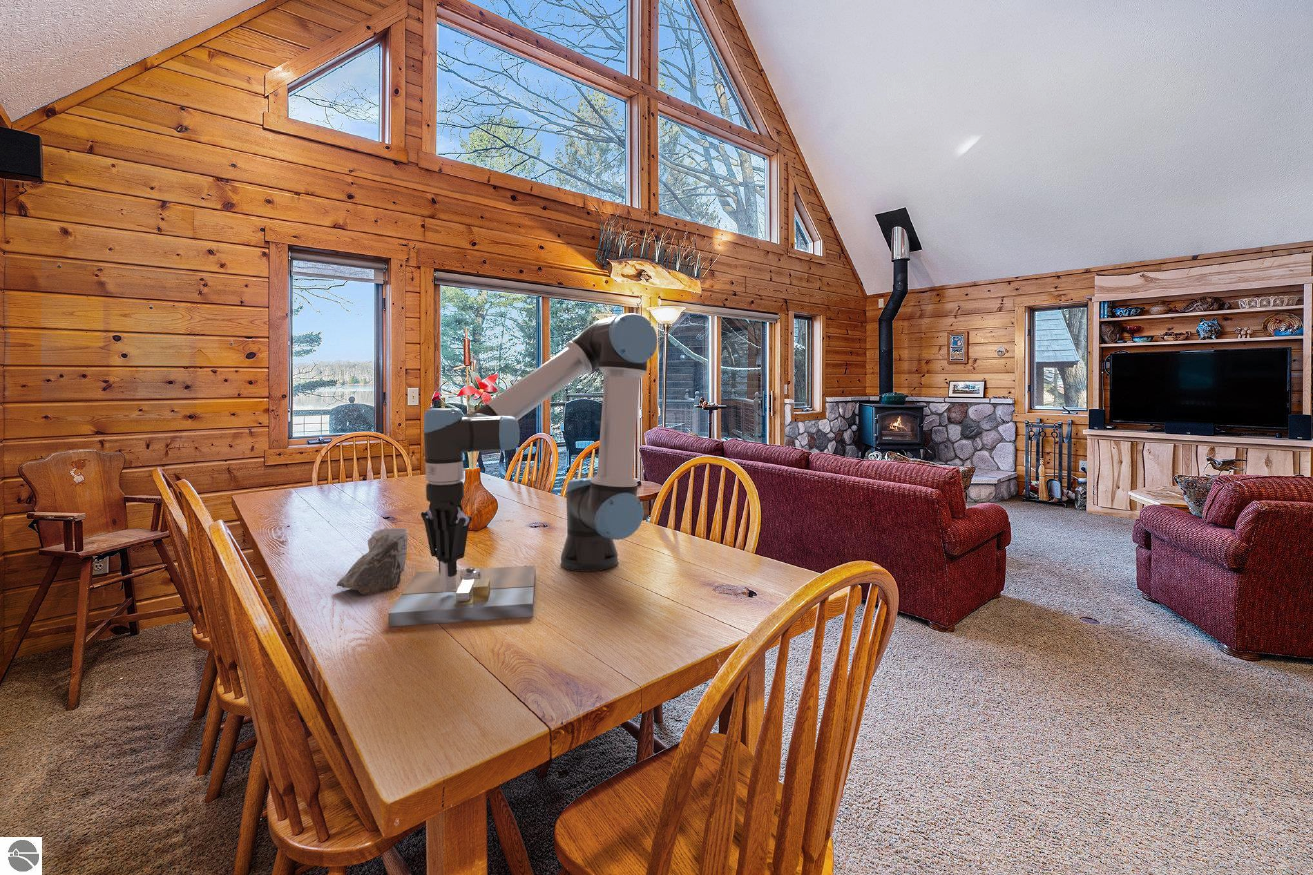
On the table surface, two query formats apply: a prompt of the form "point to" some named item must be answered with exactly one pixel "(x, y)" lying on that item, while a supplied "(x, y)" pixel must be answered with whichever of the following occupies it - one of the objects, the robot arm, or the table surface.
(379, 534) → the mug
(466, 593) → the latch bar
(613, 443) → the robot arm
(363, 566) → the rock
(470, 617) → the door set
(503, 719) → the table surface
